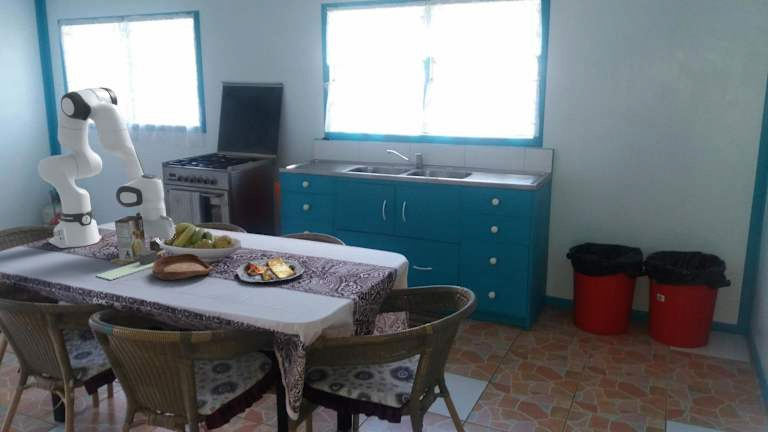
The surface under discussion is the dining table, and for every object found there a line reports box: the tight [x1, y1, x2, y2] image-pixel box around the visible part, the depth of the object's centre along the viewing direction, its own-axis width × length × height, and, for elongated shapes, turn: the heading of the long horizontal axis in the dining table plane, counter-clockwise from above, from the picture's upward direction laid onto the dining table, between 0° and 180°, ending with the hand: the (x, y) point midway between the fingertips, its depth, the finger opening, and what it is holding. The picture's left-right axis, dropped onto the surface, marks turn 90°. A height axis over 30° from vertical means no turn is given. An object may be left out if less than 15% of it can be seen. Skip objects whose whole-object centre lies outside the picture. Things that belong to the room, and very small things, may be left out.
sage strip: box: [95, 250, 158, 281], centre depth 228 cm, size 9×22×4 cm, turn 148°
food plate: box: [235, 256, 305, 283], centre depth 222 cm, size 25×23×4 cm
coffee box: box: [114, 215, 147, 261], centre depth 240 cm, size 9×6×16 cm
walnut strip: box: [109, 239, 167, 267], centre depth 245 cm, size 9×22×4 cm, turn 148°
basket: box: [152, 252, 213, 281], centre depth 223 cm, size 22×20×5 cm
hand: (157, 246), depth 252 cm, fingers closed on walnut strip, 3 cm apart
